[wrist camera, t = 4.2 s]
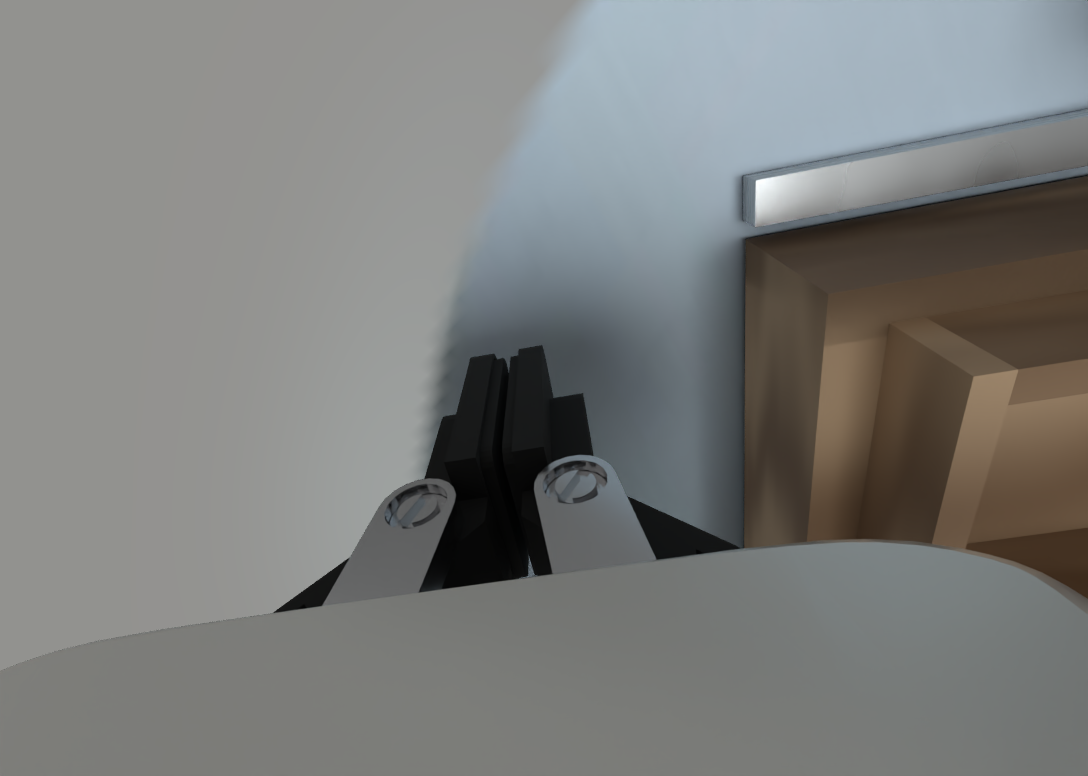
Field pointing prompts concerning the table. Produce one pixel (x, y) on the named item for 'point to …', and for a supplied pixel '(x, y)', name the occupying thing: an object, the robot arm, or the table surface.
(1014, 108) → the table surface
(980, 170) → the rail
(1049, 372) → the cradle
